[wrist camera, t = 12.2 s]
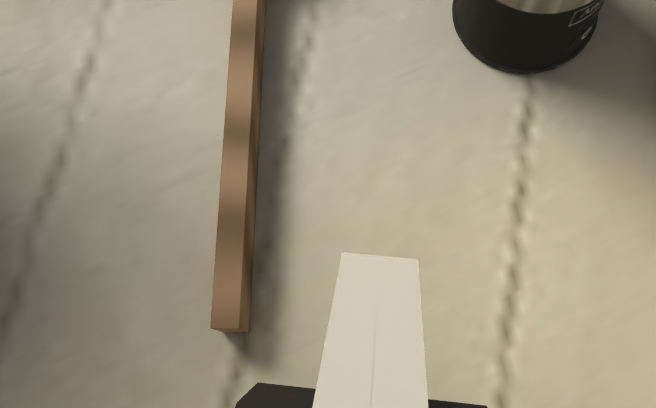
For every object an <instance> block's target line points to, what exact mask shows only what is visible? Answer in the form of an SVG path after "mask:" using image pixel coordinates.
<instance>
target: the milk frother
mask: <svg viewBox="0 0 656 408" xmlns="http://www.w3.org/2000/svg"><path fill="white" fill-rule="evenodd" d="M603 2H604V0H453V7H452V13H453V22H454V26H455V29H456V32H457V34H458V36H459V38H460V39H461V41H462V42H463V44H464V45H465V46H466V48H467V49H468V50H469V51H470V52H471V53H472V54H473V55H475V56H476V57H477V58H478V59H480V60H481V61H483V62H485V63H486V64H488V65H490V66H493V67H495V68H498V69H501V70H504V71H510V72H517V73H537V72H542V71H547V70H551V69H554V68H556V67H558V66H561V65H563V64H564V63H566V62H568V61H569V60H571V59H572V58H574V57H575V56H576V55H577V54H578V53H579V52H580V51H581V50H582V49H583V48H584V47H585V46H586V44H587V43H588V41H589V40H590V38H591V36H592V34H593V32H594V30H595V27H596V24H597V19H598V13H599V11H600V9H601V6H602V4H603Z"/></svg>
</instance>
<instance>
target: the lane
mask: <svg viewBox="0 0 656 408" xmlns="http://www.w3.org/2000/svg"><path fill="white" fill-rule="evenodd" d="M265 12H266V0H233V9H232V24H231V38H230V52H229V67H228V81H227V96H226V110H225V125H224V139H223V154H222V168H221V183H220V197H219V212H218V226H217V241H216V255H215V270H214V284H213V299H212V313H211V328H212V329H215V330H218V331H221V332H249V325H250V305H251V286H252V266H253V247H254V227H255V207H256V188H257V168H258V149H259V129H260V110H261V90H262V71H263V51H264V32H265Z"/></svg>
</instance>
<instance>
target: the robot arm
mask: <svg viewBox="0 0 656 408" xmlns="http://www.w3.org/2000/svg"><path fill="white" fill-rule="evenodd" d="M235 408H487V406H483V405H474V404H465V403H456V402H447V401H438V400H429V399H428V395H427V381H426V367H425V353H424V339H423V324H422V310H421V296H420V282H419V268H418V259H409V258H398V257H388V256H377V255H366V254H356V253H345V252H342V255H341V261H340V266H339V271H338V276H337V281H336V287H335V292H334V297H333V302H332V308H331V313H330V318H329V323H328V328H327V334H326V339H325V344H324V349H323V354H322V360H321V365H320V370H319V375H318V380H317V386H316V389H311V388H302V387H293V386H284V385H275V384H266V383H257V384H256V385H255V386H254V387H253V388H252V389H251V390H250V391H249V392H248V393H247V394H246V395H244V396H243V397H242V398H241V399H240V400H239V401H238V402H237V404H236V407H235Z"/></svg>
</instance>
